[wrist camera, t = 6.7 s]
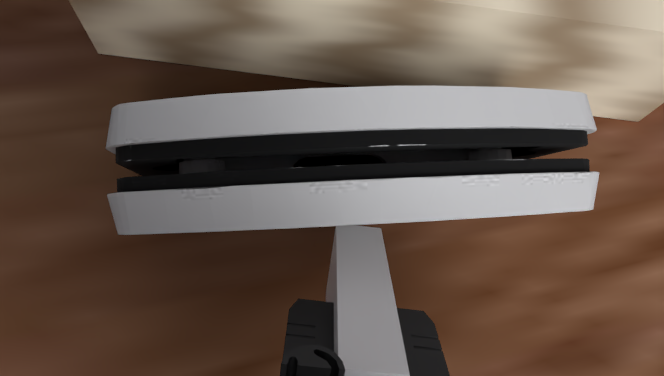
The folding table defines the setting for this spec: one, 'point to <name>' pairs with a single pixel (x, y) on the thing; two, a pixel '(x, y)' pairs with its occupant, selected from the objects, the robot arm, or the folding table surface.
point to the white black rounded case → (348, 139)
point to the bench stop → (406, 42)
